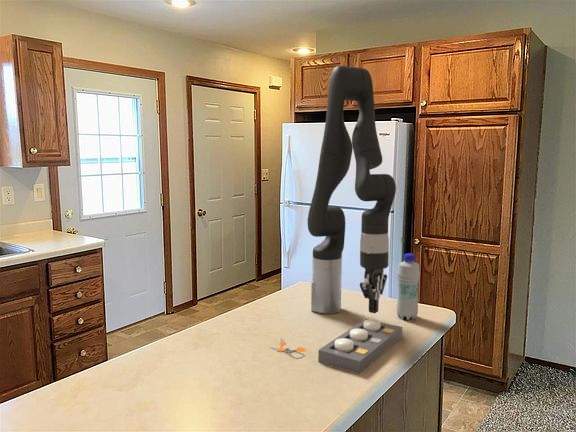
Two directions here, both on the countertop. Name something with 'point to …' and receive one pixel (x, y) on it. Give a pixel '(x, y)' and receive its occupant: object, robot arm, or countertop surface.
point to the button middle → (359, 335)
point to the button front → (344, 345)
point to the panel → (361, 348)
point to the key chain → (289, 349)
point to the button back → (372, 325)
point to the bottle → (408, 287)
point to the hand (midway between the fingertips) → (373, 312)
